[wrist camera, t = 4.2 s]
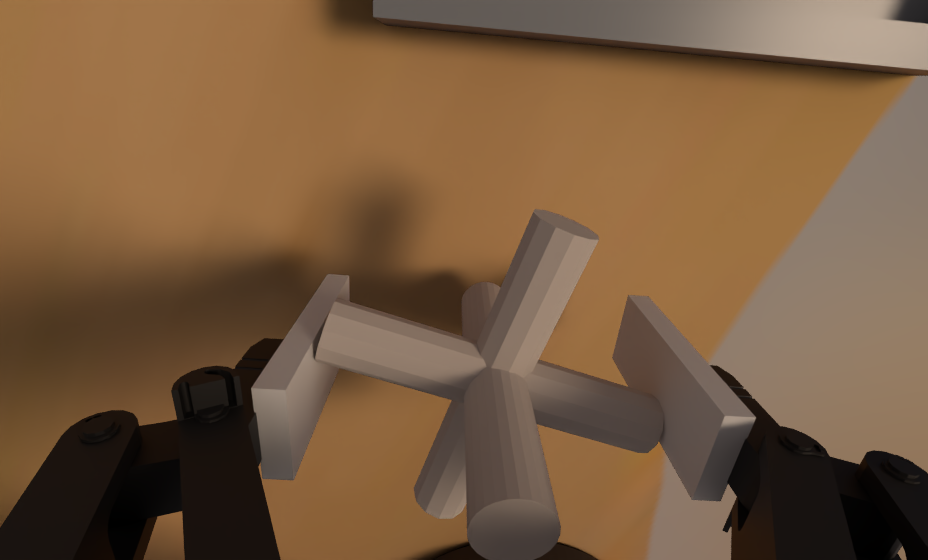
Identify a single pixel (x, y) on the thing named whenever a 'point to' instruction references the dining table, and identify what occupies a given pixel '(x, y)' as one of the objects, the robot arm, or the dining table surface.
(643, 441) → the pipe connector
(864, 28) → the tray
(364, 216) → the dining table surface
